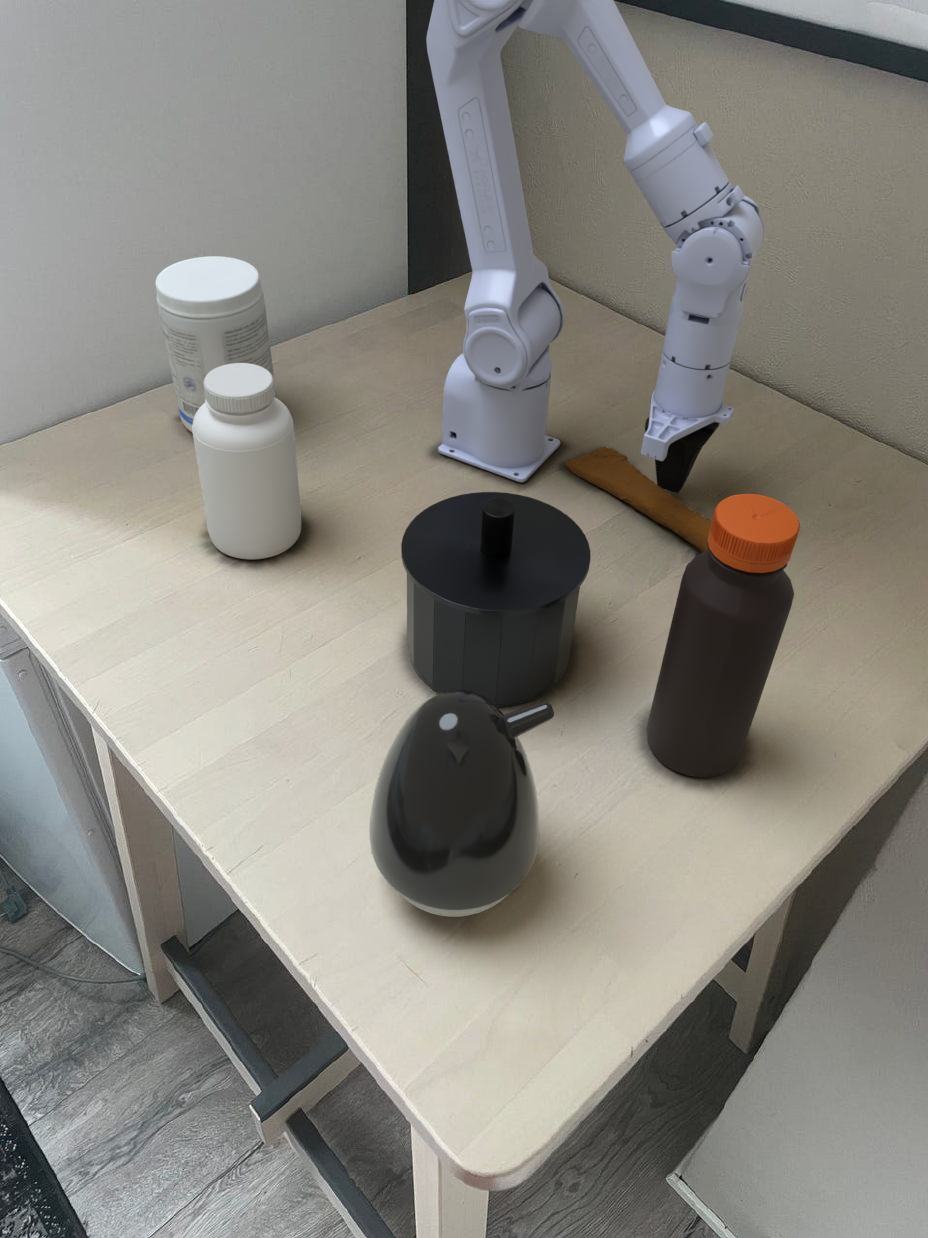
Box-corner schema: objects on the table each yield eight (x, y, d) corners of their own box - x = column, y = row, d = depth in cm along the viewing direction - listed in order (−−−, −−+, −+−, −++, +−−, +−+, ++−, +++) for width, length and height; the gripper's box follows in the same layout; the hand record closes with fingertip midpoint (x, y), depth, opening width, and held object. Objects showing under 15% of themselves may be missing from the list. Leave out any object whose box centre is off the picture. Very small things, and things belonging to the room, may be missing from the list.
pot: (377, 665, 78) (373, 569, 71) (461, 576, 86) (464, 482, 79) (521, 732, 73) (532, 636, 67) (595, 631, 81) (611, 536, 75)
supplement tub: (274, 389, 106) (259, 251, 96) (282, 439, 100) (267, 296, 90) (178, 397, 105) (153, 257, 95) (180, 449, 98) (153, 303, 88)
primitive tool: (562, 467, 98) (567, 435, 95) (605, 449, 100) (610, 418, 98) (709, 576, 87) (718, 543, 84) (753, 553, 89) (763, 521, 87)
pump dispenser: (555, 926, 62) (583, 766, 52) (385, 957, 60) (378, 797, 50) (514, 793, 69) (531, 629, 59) (360, 816, 67) (351, 651, 57)
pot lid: (364, 577, 71) (361, 524, 68) (462, 483, 80) (464, 432, 77) (534, 650, 67) (540, 597, 64) (619, 542, 75) (628, 490, 72)
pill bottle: (322, 533, 89) (310, 379, 79) (248, 575, 85) (226, 417, 75) (263, 494, 93) (245, 343, 83) (190, 533, 89) (161, 377, 78)
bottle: (666, 694, 76) (721, 470, 63) (754, 731, 74) (831, 507, 60) (630, 754, 72) (680, 528, 58) (722, 795, 70) (797, 569, 56)
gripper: (712, 405, 79) (681, 543, 88) (771, 331, 88) (737, 463, 98) (628, 379, 82) (606, 516, 91) (694, 310, 91) (668, 440, 100)
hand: (669, 487), depth 94 cm, fingers closed
